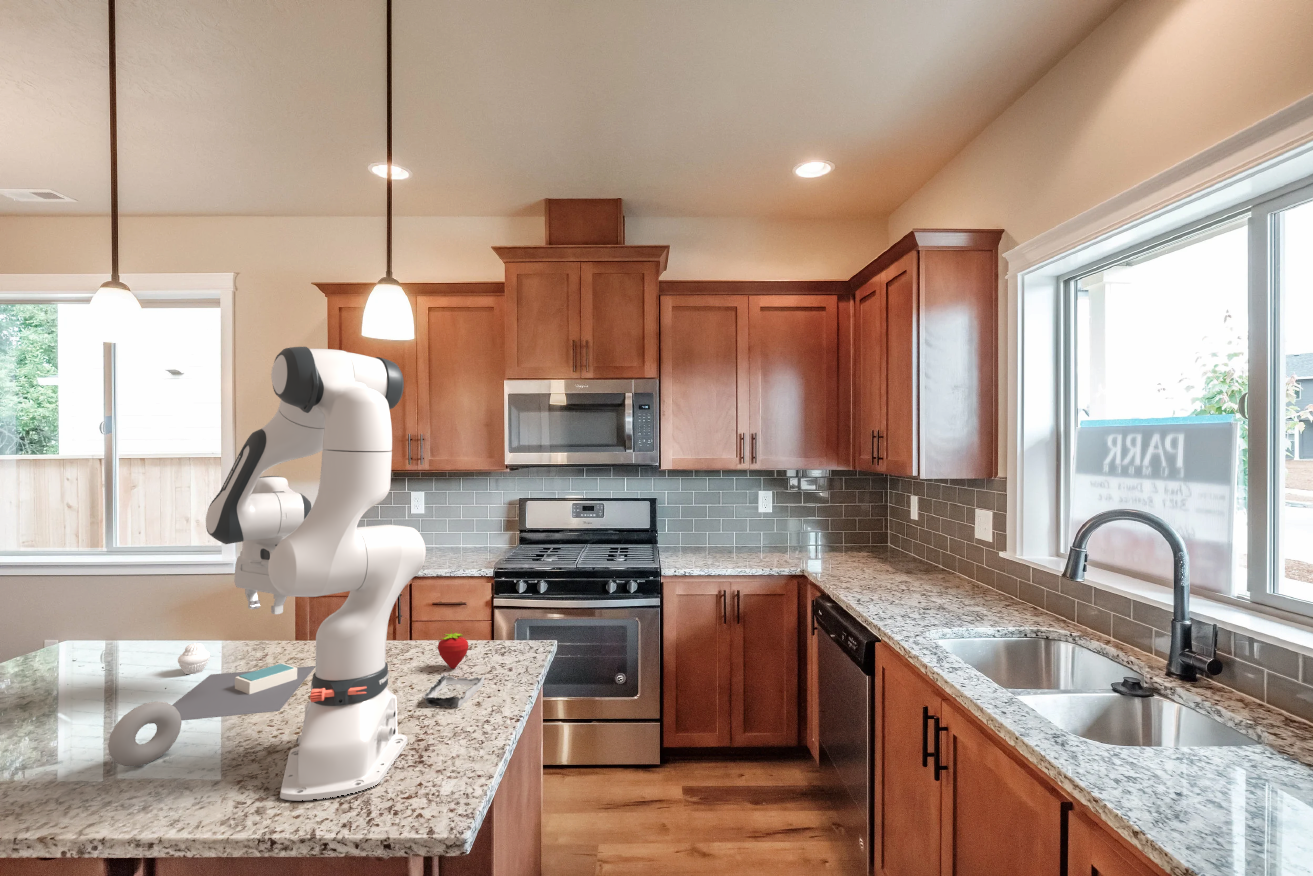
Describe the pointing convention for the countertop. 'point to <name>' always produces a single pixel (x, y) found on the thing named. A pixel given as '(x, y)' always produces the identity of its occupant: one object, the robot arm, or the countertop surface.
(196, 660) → the muffin
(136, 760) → the donut
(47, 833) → the countertop surface
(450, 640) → the strawberry
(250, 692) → the card box
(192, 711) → the mat
